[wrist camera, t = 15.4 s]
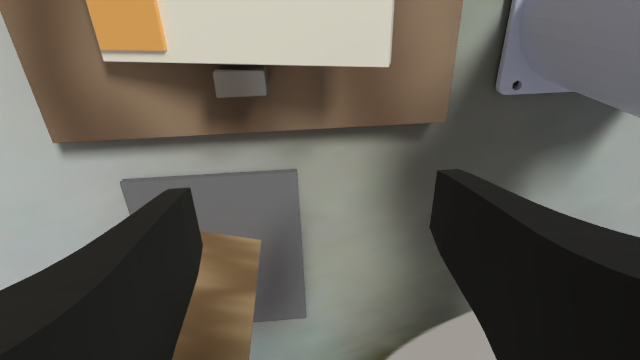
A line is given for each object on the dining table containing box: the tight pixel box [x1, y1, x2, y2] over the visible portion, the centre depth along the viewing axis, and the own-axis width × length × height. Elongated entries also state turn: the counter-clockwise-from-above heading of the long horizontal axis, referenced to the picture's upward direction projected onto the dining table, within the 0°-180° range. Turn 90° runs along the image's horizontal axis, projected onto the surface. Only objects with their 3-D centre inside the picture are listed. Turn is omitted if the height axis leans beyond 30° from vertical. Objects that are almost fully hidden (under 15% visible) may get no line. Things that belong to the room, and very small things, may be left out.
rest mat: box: [120, 169, 306, 322], centre depth 24 cm, size 10×12×1 cm
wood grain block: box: [172, 231, 261, 360], centre depth 20 cm, size 4×4×10 cm
